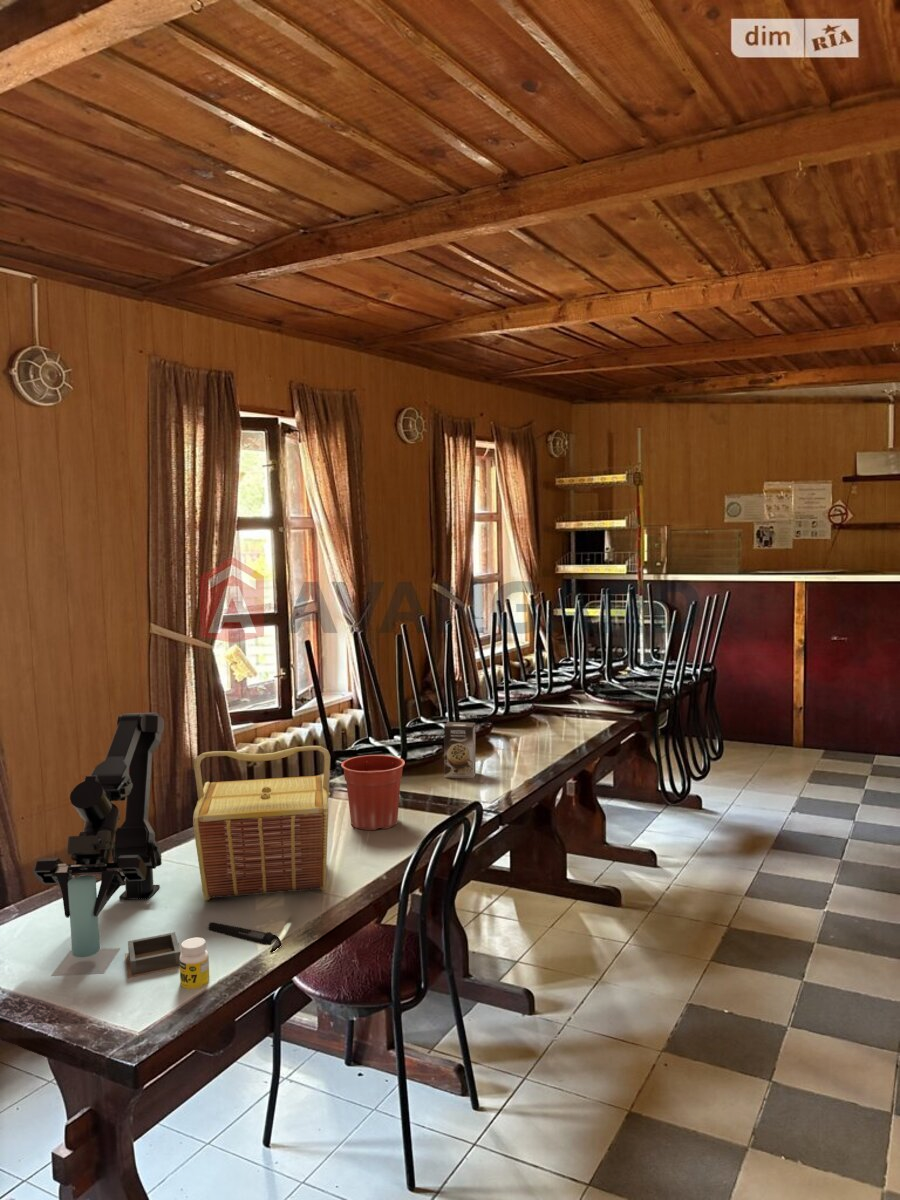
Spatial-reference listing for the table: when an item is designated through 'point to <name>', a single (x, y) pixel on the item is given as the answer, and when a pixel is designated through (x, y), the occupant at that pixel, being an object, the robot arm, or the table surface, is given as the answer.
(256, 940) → the electric trimmer
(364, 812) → the flower pot
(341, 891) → the table surface
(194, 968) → the supplement bottle
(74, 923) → the peg
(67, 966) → the pad
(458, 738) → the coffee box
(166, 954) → the socket
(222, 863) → the picnic basket
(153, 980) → the table surface
